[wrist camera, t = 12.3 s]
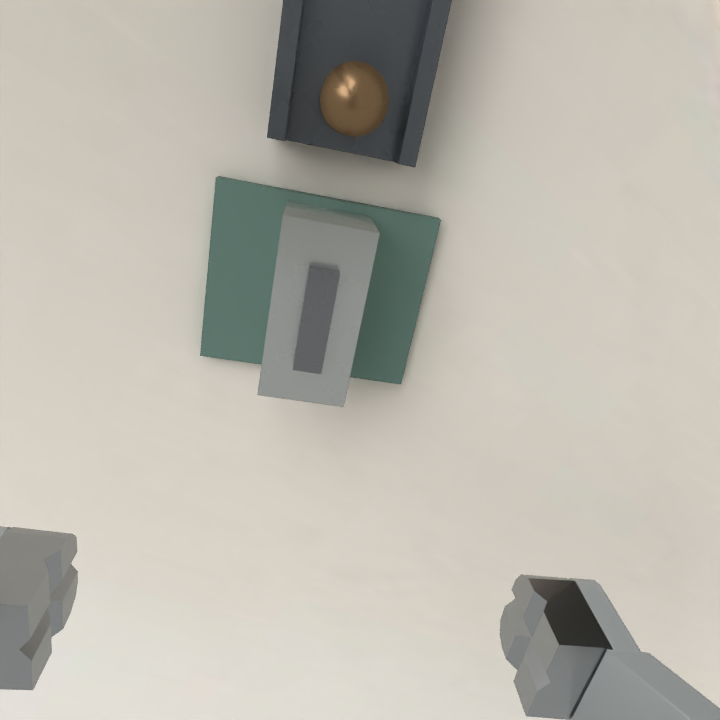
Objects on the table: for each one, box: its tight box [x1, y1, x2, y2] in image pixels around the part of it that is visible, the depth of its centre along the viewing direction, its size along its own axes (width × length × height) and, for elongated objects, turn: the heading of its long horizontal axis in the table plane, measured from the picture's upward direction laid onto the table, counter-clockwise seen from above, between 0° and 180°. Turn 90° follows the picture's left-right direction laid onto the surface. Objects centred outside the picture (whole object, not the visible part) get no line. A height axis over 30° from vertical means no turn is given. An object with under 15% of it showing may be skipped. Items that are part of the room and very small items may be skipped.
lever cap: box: [258, 200, 380, 407], centre depth 28 cm, size 9×4×6 cm, turn 169°
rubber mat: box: [200, 176, 441, 384], centre depth 32 cm, size 10×12×1 cm
